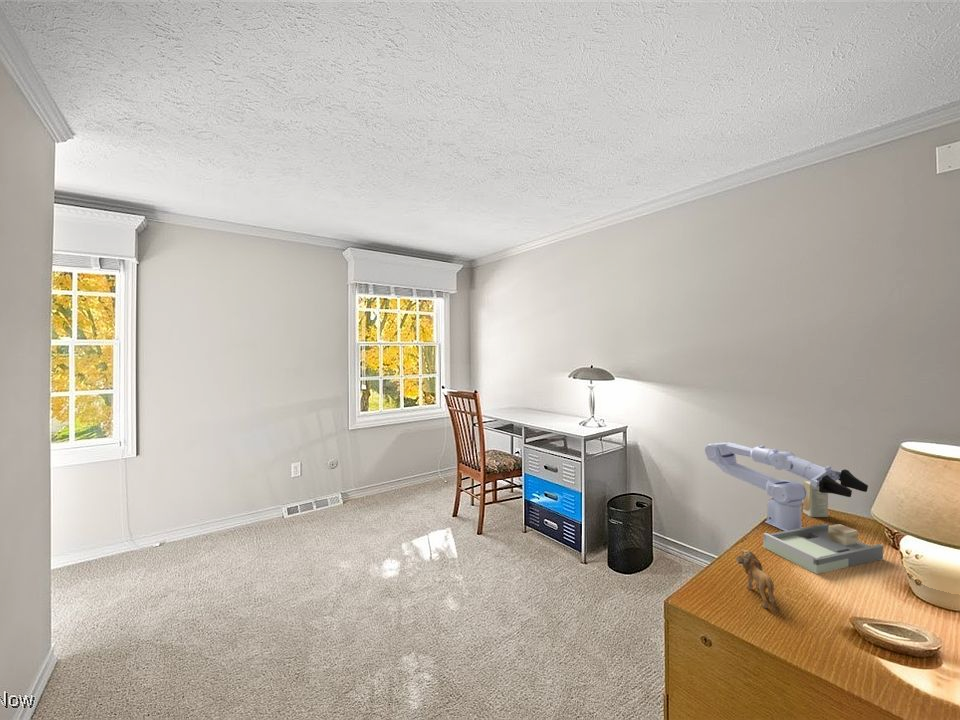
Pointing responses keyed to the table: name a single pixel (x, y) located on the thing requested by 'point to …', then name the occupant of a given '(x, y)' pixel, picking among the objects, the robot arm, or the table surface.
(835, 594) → the table surface
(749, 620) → the table surface
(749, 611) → the table surface
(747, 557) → the lion figurine
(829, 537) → the birch block
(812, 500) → the skincare box
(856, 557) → the trap box
